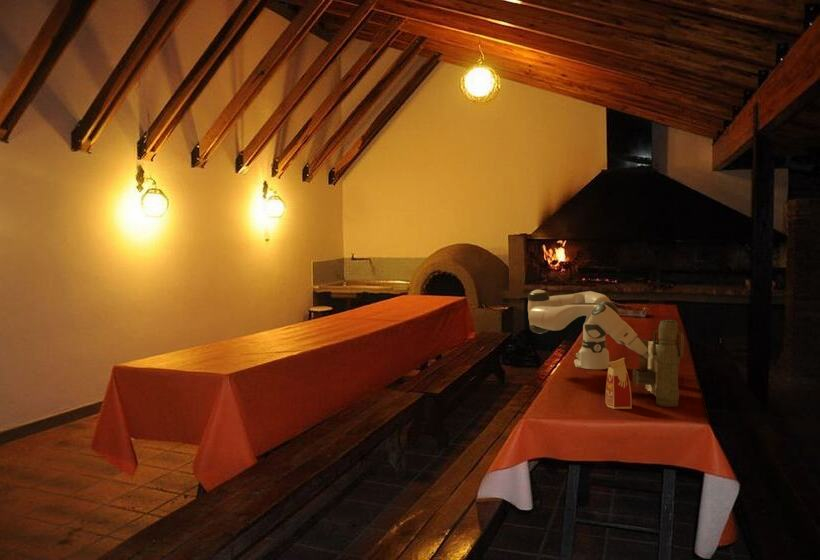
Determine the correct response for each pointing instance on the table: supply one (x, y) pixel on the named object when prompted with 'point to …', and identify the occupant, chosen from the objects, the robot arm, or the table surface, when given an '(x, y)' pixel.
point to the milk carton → (618, 386)
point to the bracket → (651, 375)
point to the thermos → (668, 362)
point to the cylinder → (643, 359)
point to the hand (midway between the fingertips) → (645, 356)
